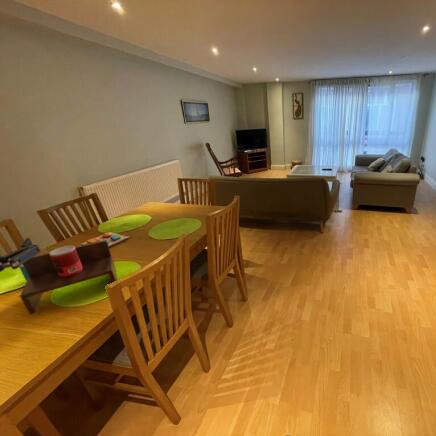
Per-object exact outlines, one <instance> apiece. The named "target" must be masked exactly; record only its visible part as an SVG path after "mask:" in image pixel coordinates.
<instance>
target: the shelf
mask: <svg viewBox="0 0 436 436" xmlns="http://www.w3.org/2000/svg"><path fill="white" fill-rule="evenodd" d="M74 247H75V249H76V251H77V254H78V256H79V259H80V261H81V264H82V267H83V269H82V271H81V272H80V273H78V274H76V275H74V276H71V277H65V278H63V277H60V276H59V275H58V272H57V270H56V268H55V266H54V264H53V261H52V259H51V257H50V254H49V253H50V252H46V253H42V254H37V255H35V256H34V257H32V258H31V259H29V260H27V261H26V262H24V263H23V266H24V268H25V269H26V271H27V273H28V275H29V278H28V280H27V282H26V281H25V282H26V283H25V284H24V286H23V288H22V291H21V292H20V295H19V297H20V300H21V301H22V302H23V305H24V306H25V308H26V310H27V312H28V314H29V315H33V314H36V312H37V309H38V307H39V305H40V301H41V299H42V296H43V294H44V293H48V292H51V291H54V290H55V291H56V290H57V289H58V290H59V289H62V288H64V287H68V286H71V285H76V284H79V283H82V282H86V281H89V280H93V279H96V278H100V277H104V276H107V275H108V276H109V279H110V283H112V282H114V281H117V282H118V274H117V273H118V272H117V267H116V264H115V262H114V260H113V259H114V258H113V256H112V252H111V249H110V247H108V244H107V241H106V240H104V241H99V242H95V243H90V244H86V245H81V244H80V245H77V246H74ZM116 272H117V273H116Z"/></svg>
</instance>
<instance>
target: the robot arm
mask: <svg viewBox="0 0 436 436" xmlns="http://www.w3.org/2000/svg"><path fill="white" fill-rule="evenodd" d="M40 253H41V249H40V246H39V244H37V243H35V244H34V242H32V240H31V238H30V237H27V238H25V240H24V241H23V243H22V244H21V248H18V249H15V250H14V251H11V252H9V253H7V254H5V255H2V256H1V255H0V273H1V272H3V271H4V270H5V269H9V268H11V269H12V270H17V269H20V265H21V264H23V263H24V262H26V261H27V260H29V259H31V258H32V257H34V256H37V255H39V254H40Z"/></svg>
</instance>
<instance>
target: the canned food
mask: <svg viewBox="0 0 436 436" xmlns="http://www.w3.org/2000/svg"><path fill="white" fill-rule="evenodd" d="M75 247H76V246H74V245H64V246H60V247H58V248H54V249H53V250H51V251H49V252H48V253H49V254H50V257H51V259H52V261H53V264H54V266H55V268H56V270H57V272H58V275H59V276H60V277H63V278H65V277H71V276H74V275H76V274H78V273H80V272H81V271H82V269H83V267H82V264H81V261H80V259H79V256H78V254H77V251H76V249H75Z"/></svg>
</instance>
